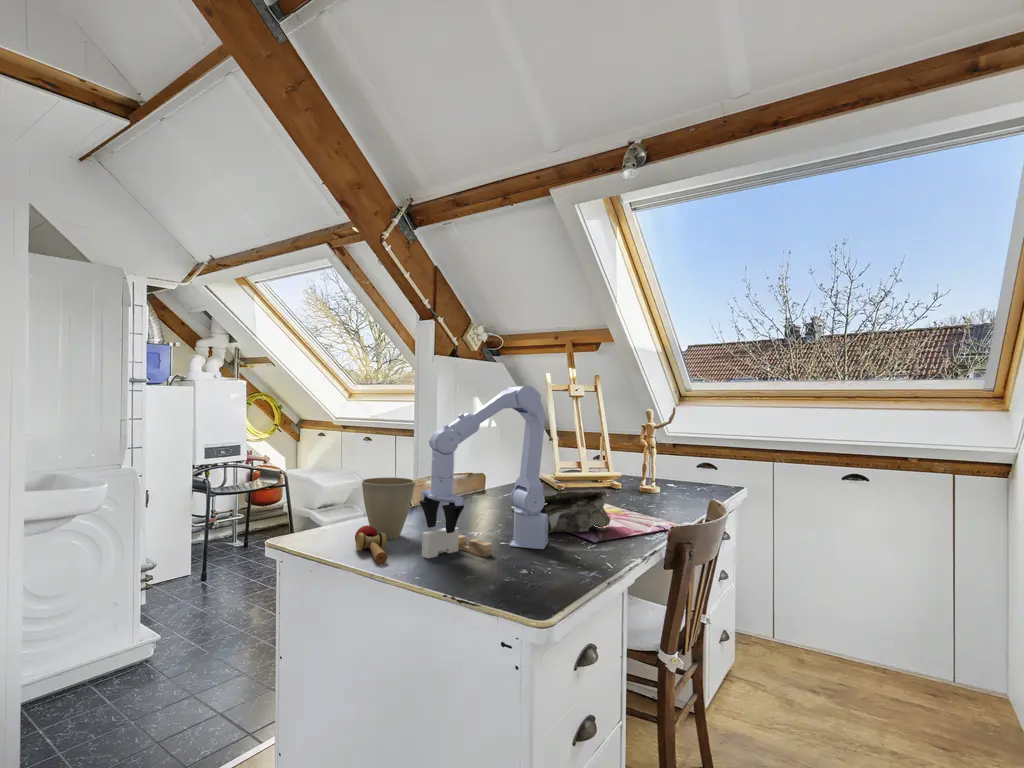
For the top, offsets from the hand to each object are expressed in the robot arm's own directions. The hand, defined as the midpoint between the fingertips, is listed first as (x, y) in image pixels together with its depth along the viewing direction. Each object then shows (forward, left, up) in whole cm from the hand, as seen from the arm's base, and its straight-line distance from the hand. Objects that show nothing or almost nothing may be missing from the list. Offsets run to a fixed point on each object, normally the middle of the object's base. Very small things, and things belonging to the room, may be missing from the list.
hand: (440, 529), depth 143 cm
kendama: (+16, +6, -7) cm, 18 cm away
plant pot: (+20, -12, -6) cm, 24 cm away
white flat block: (0, 0, -6) cm, 6 cm away
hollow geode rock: (-29, -36, -7) cm, 46 cm away
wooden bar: (-6, -6, -6) cm, 10 cm away
